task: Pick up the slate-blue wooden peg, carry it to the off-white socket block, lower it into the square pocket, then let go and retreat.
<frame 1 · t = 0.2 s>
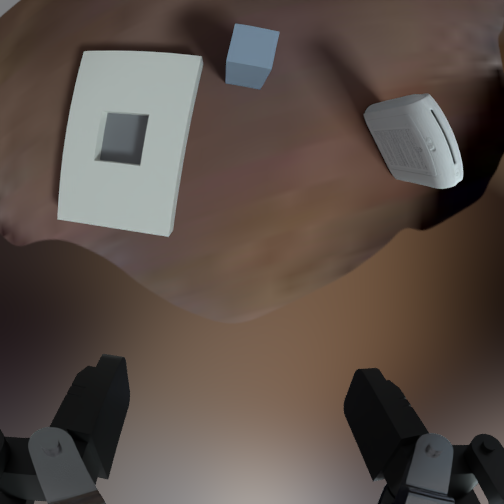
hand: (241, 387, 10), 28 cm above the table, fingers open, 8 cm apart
peg: (246, 70, 32), on the table
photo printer: (388, 141, 36), on the table
socket: (128, 138, 33), on the table
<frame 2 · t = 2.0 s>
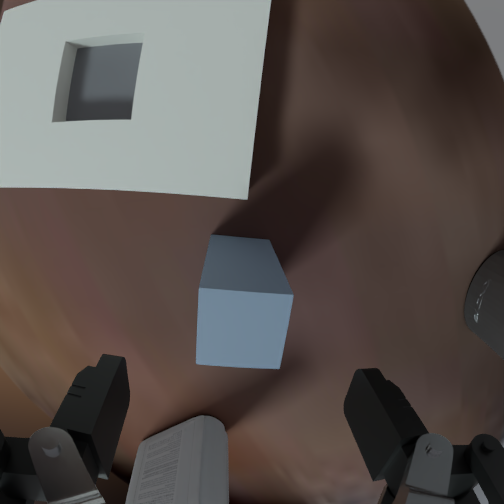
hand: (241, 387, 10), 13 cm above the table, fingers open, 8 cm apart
peg: (237, 264, 23), on the table
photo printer: (181, 435, 28), on the table
socket: (111, 85, 18), on the table
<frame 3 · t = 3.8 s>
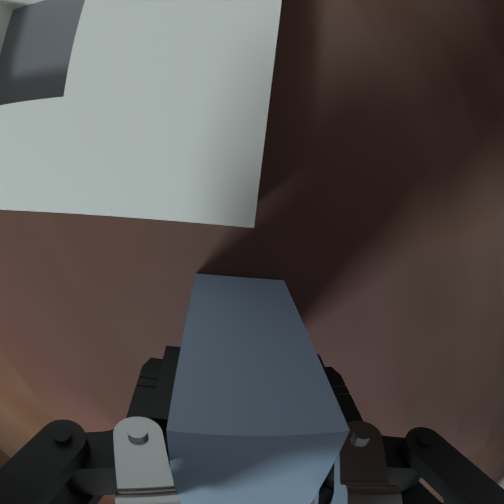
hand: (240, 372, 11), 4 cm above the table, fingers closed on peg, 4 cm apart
peg: (236, 315, 15), on the table, touching gripper
socket: (53, 54, 10), on the table
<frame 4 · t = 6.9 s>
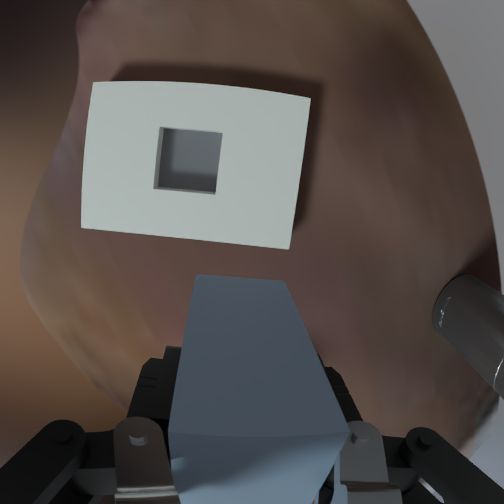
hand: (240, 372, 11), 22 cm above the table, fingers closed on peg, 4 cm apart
peg: (236, 316, 15), point 18 cm above the table, touching gripper
socket: (191, 159, 30), on the table
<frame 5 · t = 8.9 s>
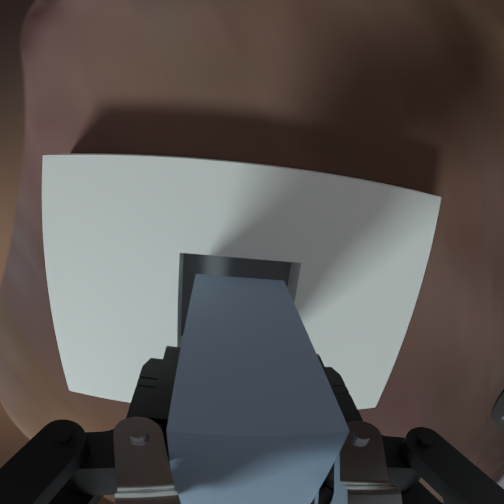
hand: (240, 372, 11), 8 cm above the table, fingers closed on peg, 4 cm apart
peg: (236, 316, 15), point 3 cm above the table, touching gripper
socket: (233, 287, 18), on the table
when the fingers open (5 cm above the table, at t = 10.3 s): peg stays where it is, resting on socket.
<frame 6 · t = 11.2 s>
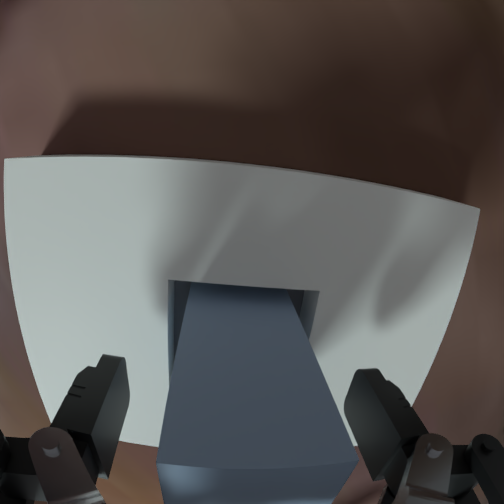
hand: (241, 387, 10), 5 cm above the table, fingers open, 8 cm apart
peg: (234, 325, 14), point 1 cm above the table, touching socket
socket: (235, 314, 15), on the table
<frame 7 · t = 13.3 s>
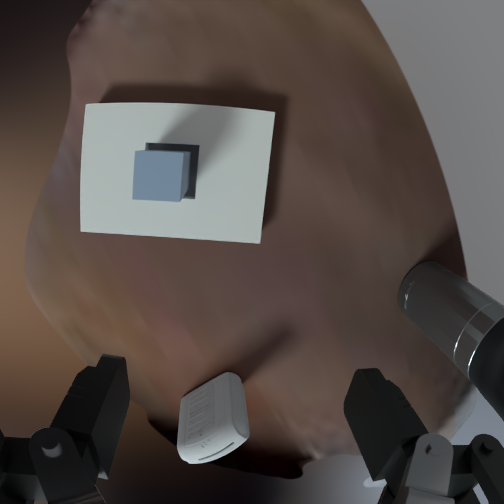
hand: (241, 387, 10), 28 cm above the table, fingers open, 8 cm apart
peg: (171, 169, 33), point 1 cm above the table, touching socket
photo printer: (211, 390, 44), on the table
socket: (173, 168, 34), on the table
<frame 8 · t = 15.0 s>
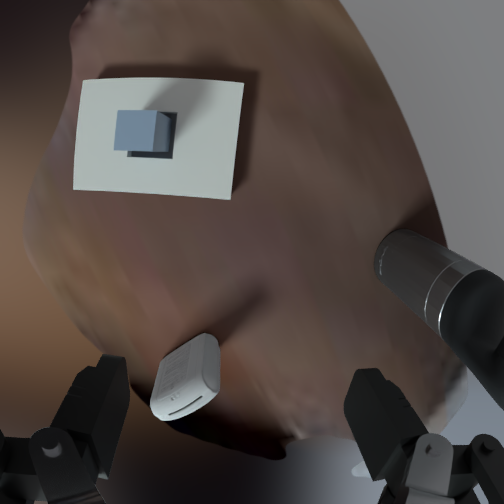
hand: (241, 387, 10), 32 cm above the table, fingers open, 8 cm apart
peg: (154, 134, 36), point 1 cm above the table, touching socket
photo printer: (189, 352, 47), on the table
socket: (156, 135, 37), on the table
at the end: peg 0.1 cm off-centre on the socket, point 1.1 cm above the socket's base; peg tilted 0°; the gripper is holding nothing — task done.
